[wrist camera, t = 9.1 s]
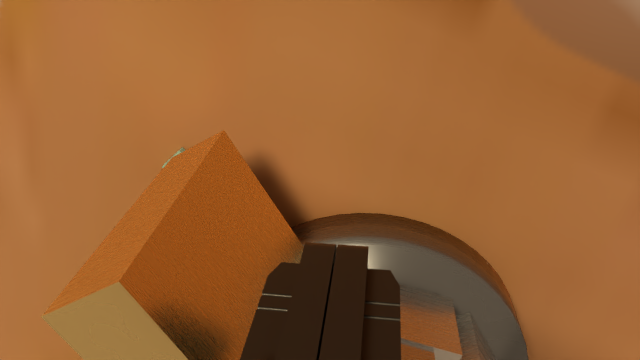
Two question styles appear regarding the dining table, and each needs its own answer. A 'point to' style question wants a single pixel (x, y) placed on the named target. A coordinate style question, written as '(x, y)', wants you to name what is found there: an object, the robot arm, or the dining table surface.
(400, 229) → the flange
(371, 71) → the dining table surface
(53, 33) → the dining table surface
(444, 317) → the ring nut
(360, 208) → the dining table surface
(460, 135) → the dining table surface
